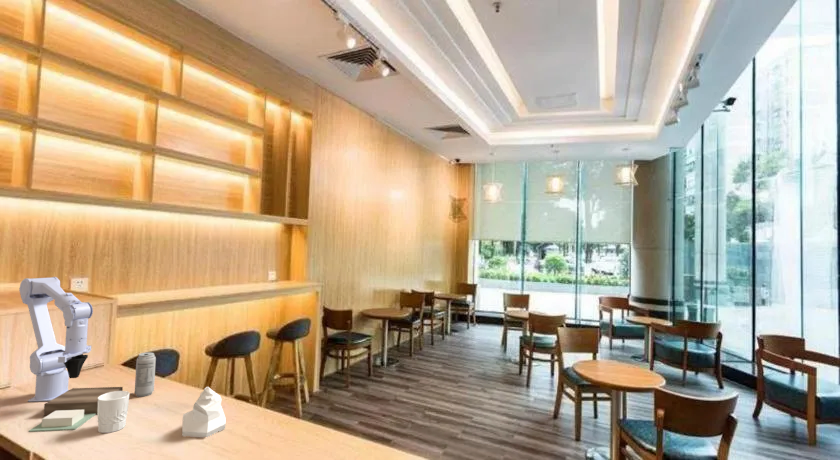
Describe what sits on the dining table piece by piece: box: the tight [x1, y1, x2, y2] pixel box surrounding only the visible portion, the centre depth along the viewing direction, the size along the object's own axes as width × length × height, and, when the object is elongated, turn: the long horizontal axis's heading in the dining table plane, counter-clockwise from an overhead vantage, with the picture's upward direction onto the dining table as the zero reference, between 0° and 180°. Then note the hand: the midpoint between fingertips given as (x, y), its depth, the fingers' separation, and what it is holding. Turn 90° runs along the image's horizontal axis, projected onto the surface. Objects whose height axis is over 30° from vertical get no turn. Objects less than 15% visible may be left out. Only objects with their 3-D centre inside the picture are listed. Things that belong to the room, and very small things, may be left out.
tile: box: [41, 410, 84, 427], centre depth 126 cm, size 6×8×2 cm
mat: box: [28, 413, 97, 433], centre depth 126 cm, size 11×12×1 cm
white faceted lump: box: [181, 386, 227, 438], centre depth 126 cm, size 12×15×14 cm
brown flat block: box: [43, 386, 124, 418], centre depth 139 cm, size 14×16×4 cm
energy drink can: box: [134, 351, 157, 398], centre depth 151 cm, size 6×6×15 cm
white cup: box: [97, 390, 130, 434], centre depth 124 cm, size 8×8×10 cm
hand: (74, 377), depth 140 cm, fingers closed
